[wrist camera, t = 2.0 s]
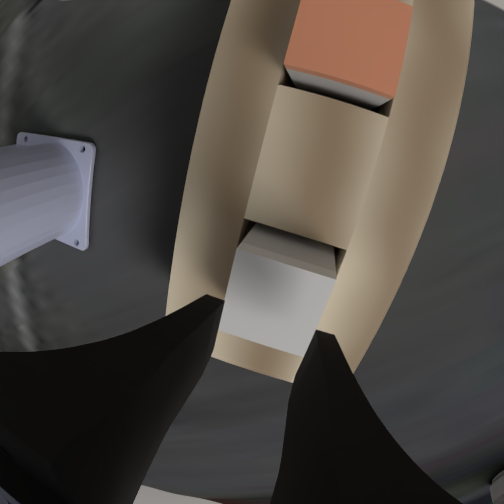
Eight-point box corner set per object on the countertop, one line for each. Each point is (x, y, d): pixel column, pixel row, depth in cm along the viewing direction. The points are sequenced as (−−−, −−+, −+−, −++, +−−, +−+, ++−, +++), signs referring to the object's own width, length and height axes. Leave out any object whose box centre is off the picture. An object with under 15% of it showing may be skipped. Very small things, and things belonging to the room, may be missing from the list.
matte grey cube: (245, 279, 17) (217, 329, 12) (262, 215, 15) (236, 248, 11) (310, 300, 16) (303, 357, 12) (332, 237, 15) (336, 279, 11)
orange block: (295, 87, 13) (283, 63, 8) (313, 22, 11) (307, -25, 7) (371, 110, 12) (395, 96, 8) (387, 43, 11) (413, 6, 7)
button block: (195, 296, 21) (163, 338, 16) (272, -23, 13) (255, -67, 8) (339, 341, 20) (340, 395, 15) (440, 25, 12) (474, -5, 7)
